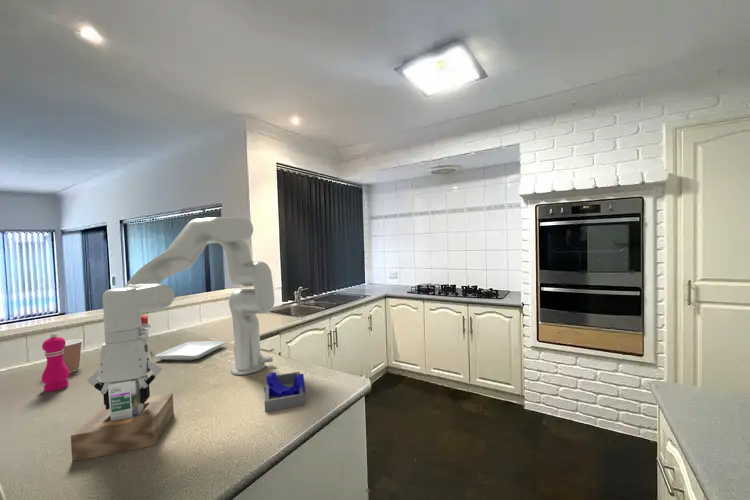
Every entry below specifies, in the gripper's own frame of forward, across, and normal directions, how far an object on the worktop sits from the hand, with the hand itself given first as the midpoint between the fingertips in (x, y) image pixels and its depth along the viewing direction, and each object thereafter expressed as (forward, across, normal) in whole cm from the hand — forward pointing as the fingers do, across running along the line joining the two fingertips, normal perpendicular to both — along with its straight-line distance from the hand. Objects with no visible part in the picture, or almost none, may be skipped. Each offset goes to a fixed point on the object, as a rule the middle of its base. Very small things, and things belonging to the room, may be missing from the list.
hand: (127, 403), depth 83 cm
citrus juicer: (+9, +30, -83) cm, 89 cm away
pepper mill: (+8, +40, -47) cm, 62 cm away
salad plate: (+9, +1, -69) cm, 69 cm away
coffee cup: (+8, +47, -67) cm, 82 cm away
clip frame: (+8, -39, -8) cm, 41 cm away
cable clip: (+9, -39, -8) cm, 41 cm away
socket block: (+8, 0, 0) cm, 8 cm away
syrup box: (+8, 0, 0) cm, 8 cm away
